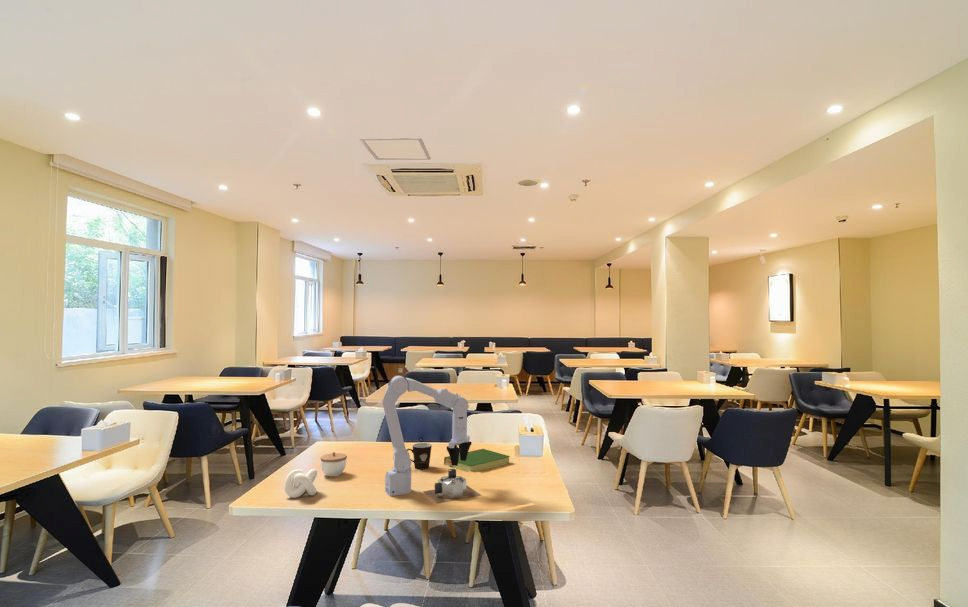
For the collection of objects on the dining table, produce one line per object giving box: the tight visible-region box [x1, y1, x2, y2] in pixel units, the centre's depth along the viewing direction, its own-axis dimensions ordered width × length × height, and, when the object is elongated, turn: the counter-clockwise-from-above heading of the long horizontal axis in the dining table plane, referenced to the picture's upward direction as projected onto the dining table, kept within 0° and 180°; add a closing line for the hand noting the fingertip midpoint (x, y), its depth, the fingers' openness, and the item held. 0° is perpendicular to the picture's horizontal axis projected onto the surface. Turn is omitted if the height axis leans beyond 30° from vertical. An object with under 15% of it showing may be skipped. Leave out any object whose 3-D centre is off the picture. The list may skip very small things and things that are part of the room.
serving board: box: [422, 484, 482, 504], centre depth 178 cm, size 18×14×1 cm
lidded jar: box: [320, 451, 348, 478], centre depth 203 cm, size 11×11×9 cm
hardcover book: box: [443, 448, 511, 473], centre depth 220 cm, size 25×19×4 cm
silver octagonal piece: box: [434, 475, 467, 498], centre depth 177 cm, size 12×10×5 cm
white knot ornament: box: [283, 468, 318, 499], centre depth 177 cm, size 11×12×9 cm
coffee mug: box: [406, 442, 433, 471], centre depth 214 cm, size 12×9×10 cm
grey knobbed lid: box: [443, 468, 462, 484], centre depth 178 cm, size 7×7×5 cm
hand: (459, 462), depth 185 cm, fingers open, 7 cm apart
